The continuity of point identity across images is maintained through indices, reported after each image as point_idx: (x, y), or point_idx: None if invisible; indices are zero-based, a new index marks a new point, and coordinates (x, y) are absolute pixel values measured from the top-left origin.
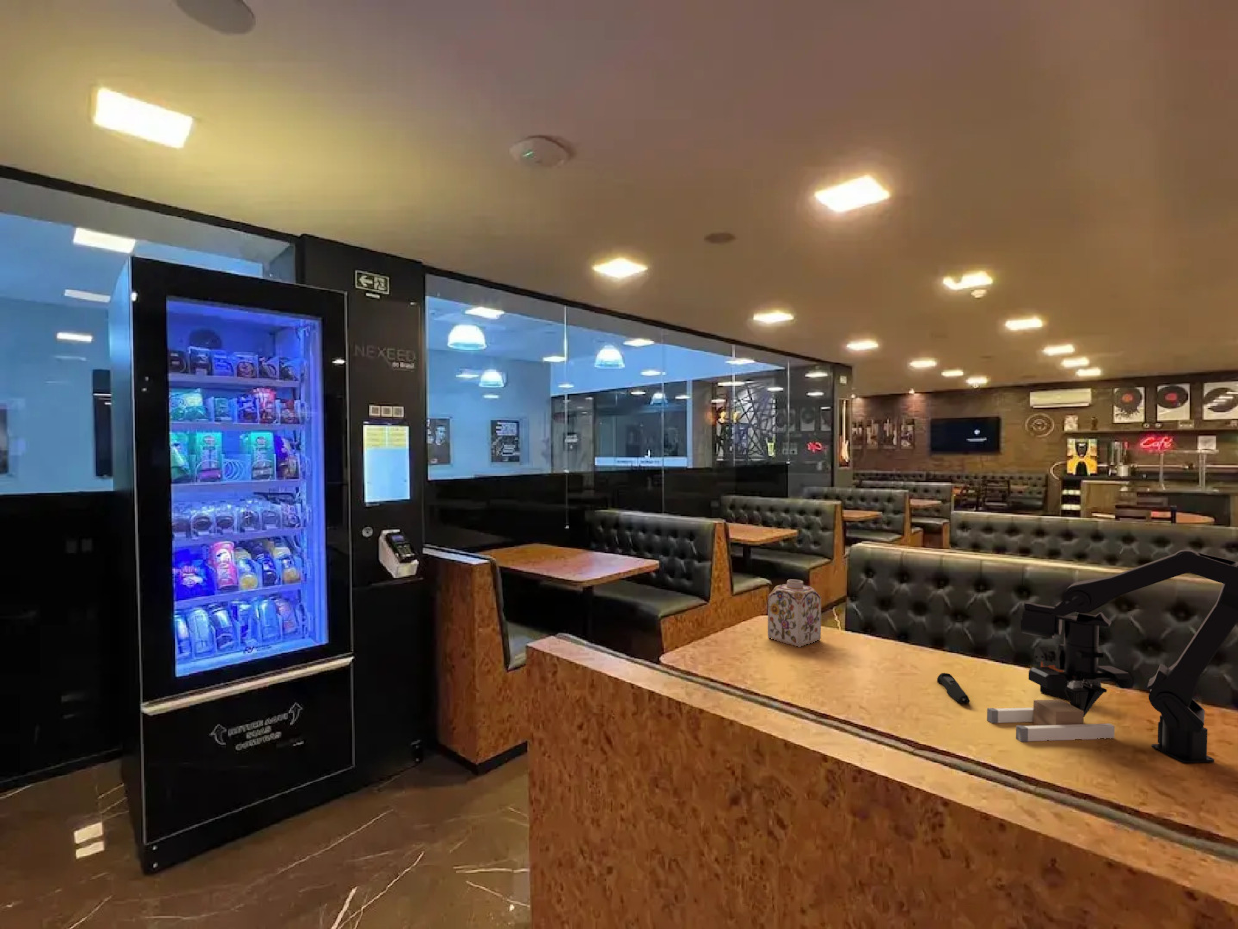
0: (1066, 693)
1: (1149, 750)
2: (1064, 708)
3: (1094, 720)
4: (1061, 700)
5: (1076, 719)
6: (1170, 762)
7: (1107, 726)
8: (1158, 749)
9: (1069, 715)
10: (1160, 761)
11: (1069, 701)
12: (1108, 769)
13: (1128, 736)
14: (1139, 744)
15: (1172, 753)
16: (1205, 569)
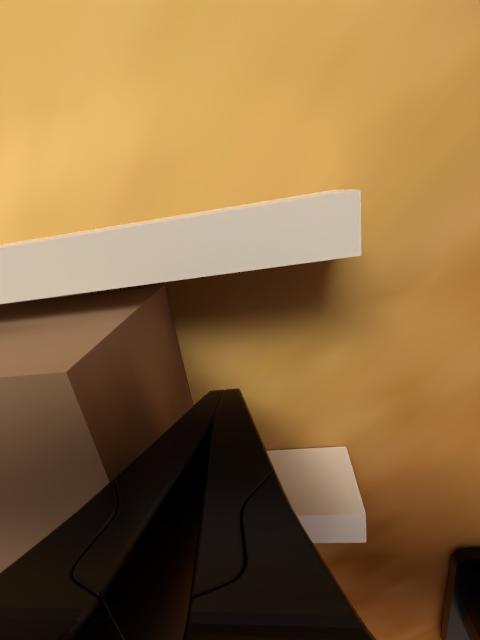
0: (8, 584)
1: (413, 559)
2: (15, 560)
3: (475, 221)
4: (66, 401)
5: None
6: (397, 623)
7: (313, 541)
8: (450, 580)
9: None
10: (363, 616)
11: (117, 478)
12: None
13: (464, 448)
14: (426, 518)
15: (463, 623)
16: None
